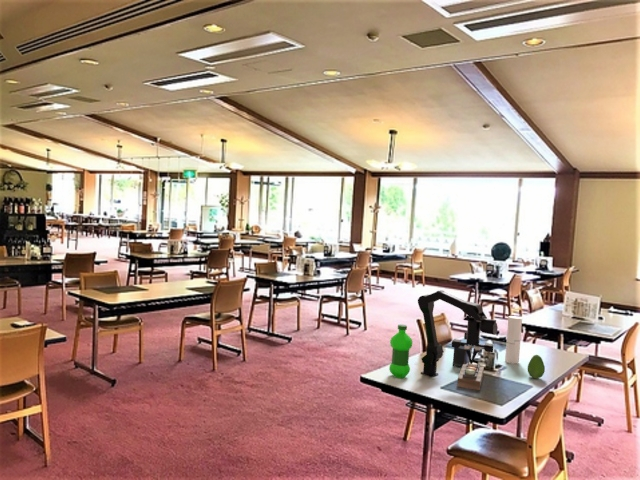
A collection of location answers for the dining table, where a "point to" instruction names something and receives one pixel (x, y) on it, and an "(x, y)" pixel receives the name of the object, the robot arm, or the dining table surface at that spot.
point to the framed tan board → (470, 377)
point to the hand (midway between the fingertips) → (471, 363)
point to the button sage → (470, 372)
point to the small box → (460, 357)
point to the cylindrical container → (513, 339)
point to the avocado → (536, 367)
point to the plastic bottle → (400, 353)
